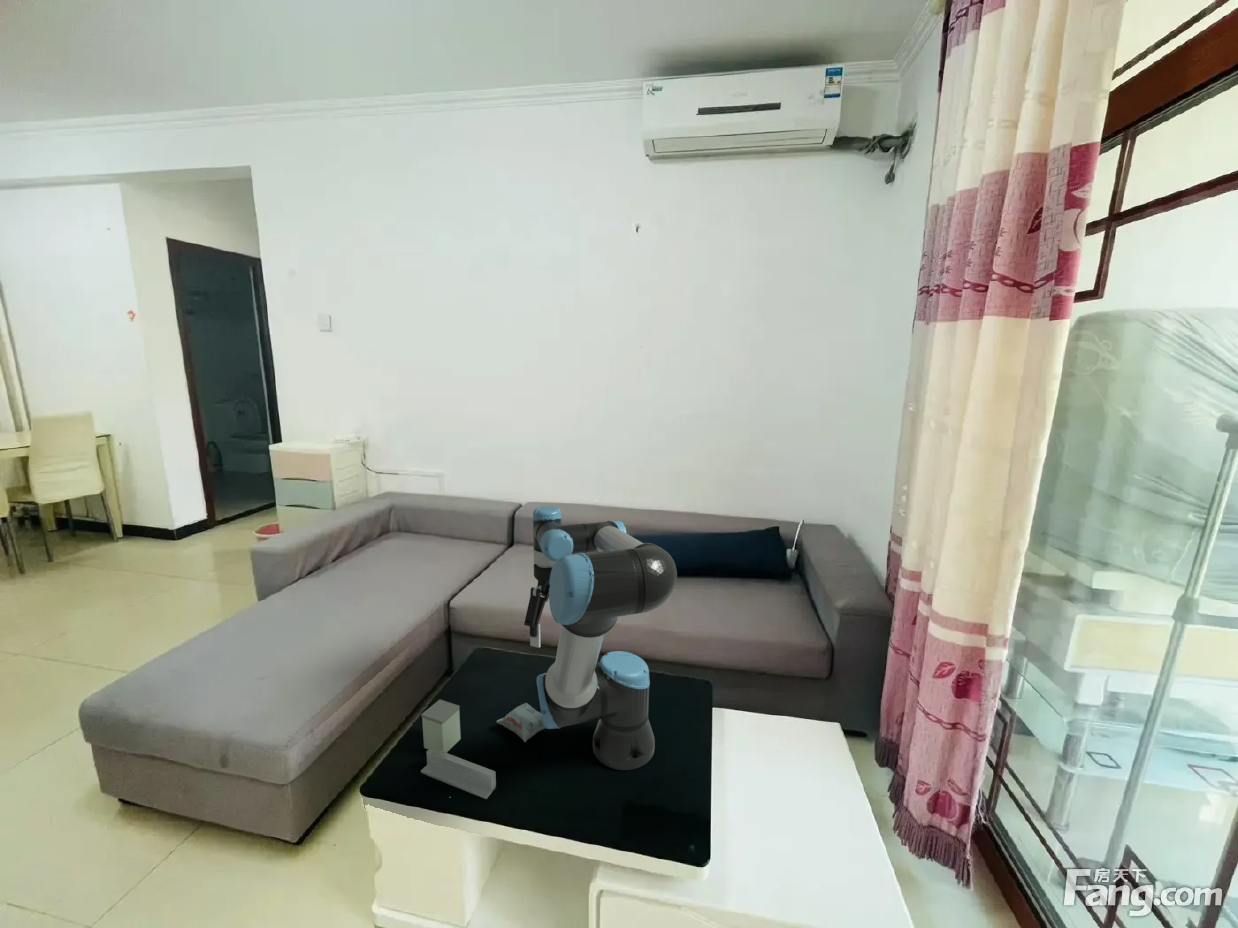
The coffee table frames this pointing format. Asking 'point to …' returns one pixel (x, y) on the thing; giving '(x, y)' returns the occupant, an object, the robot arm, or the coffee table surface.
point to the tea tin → (441, 726)
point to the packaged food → (523, 721)
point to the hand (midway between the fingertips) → (548, 634)
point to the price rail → (460, 773)
